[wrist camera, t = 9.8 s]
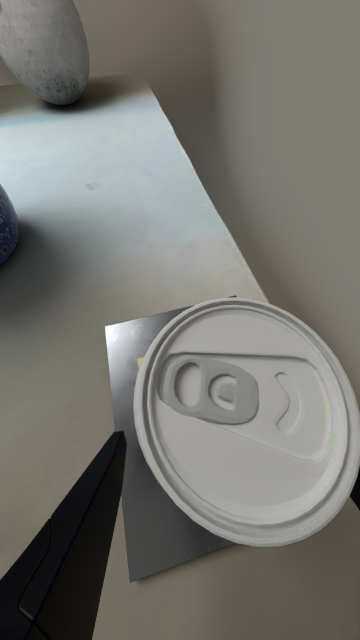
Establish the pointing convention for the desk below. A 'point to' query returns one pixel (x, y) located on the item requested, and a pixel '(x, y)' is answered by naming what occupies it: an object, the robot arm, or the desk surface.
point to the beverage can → (248, 422)
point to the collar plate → (139, 481)
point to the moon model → (45, 47)
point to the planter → (7, 226)
